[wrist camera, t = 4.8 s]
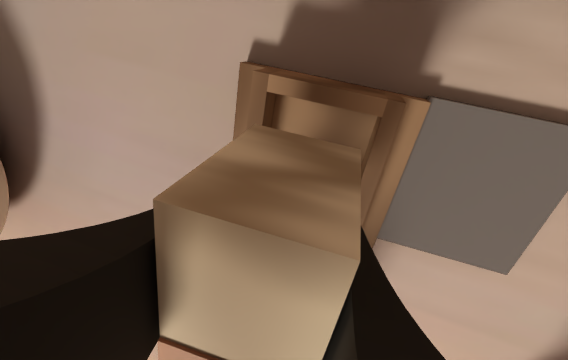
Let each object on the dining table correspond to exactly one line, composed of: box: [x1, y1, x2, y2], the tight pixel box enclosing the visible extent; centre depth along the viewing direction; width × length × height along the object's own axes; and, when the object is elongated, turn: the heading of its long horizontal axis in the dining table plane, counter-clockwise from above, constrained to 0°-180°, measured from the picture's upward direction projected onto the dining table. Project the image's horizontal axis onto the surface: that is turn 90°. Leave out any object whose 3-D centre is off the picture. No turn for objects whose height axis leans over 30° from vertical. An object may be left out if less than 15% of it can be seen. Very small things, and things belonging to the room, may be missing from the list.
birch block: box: [153, 124, 361, 360], centre depth 9 cm, size 4×6×6 cm
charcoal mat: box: [377, 96, 568, 275], centre depth 16 cm, size 8×9×1 cm
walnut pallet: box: [233, 62, 431, 248], centre depth 18 cm, size 10×17×3 cm, turn 171°
